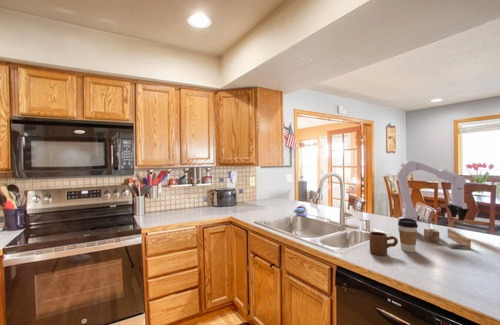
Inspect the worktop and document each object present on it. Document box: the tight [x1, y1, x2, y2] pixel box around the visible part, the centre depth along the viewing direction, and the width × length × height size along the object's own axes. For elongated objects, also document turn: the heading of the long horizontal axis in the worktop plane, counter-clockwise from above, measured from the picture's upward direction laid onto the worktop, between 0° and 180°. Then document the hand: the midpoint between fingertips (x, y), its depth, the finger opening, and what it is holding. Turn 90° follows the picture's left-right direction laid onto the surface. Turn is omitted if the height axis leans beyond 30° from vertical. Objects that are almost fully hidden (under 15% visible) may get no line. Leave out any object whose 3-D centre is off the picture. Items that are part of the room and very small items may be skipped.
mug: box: [369, 231, 399, 257], centre depth 116 cm, size 12×8×9 cm, turn 62°
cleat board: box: [439, 228, 472, 250], centre depth 130 cm, size 9×19×5 cm, turn 165°
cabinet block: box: [423, 228, 440, 244], centre depth 132 cm, size 6×4×7 cm
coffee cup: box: [397, 218, 419, 253], centre depth 120 cm, size 8×8×15 cm
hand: (457, 218), depth 140 cm, fingers open, 7 cm apart
